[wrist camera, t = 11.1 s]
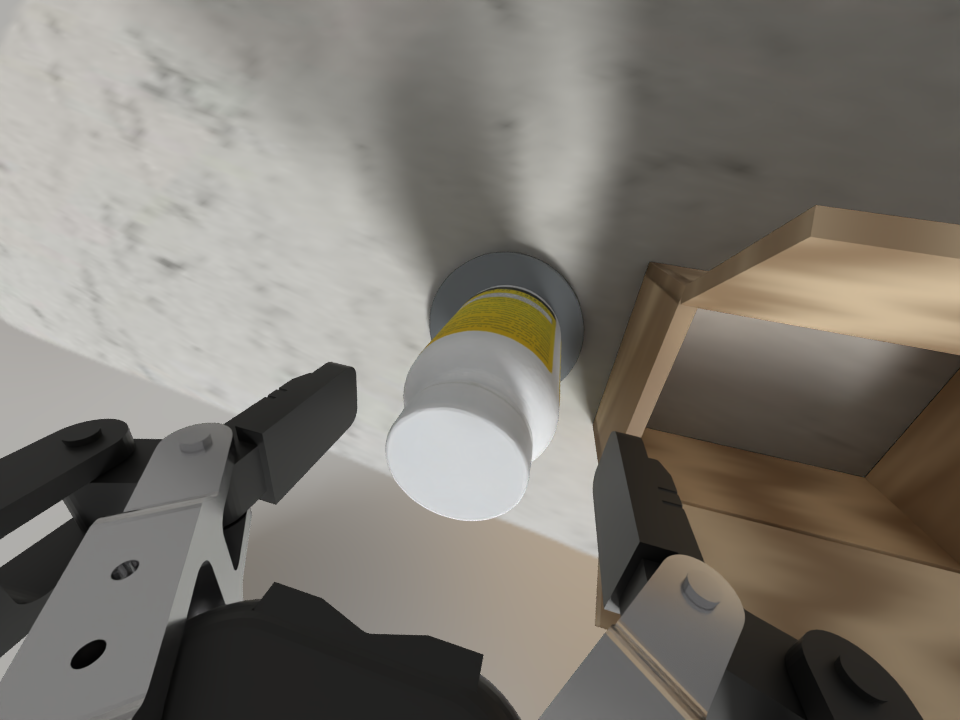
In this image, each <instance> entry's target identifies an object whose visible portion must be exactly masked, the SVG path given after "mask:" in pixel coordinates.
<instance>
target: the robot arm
mask: <svg viewBox="0 0 960 720" xmlns="http://www.w3.org/2000/svg"><path fill="white" fill-rule="evenodd" d="M356 413H357V385H356V371H355V369H354V368H353V367H350V366H346V365H342V364H338V363H333V362H328V363H326V364H325V365H323V366H322V367H320V368H319V369H317V370H316V371H314V372H313V373H308V374H305V375H302V376H300V377H297V378H294V379H292V380H290V381H289V382H287V383H286V384H284V385H283V386H281V387H280V388H279V390H275V391H274V392H272V393H271V394H269V395H268V397H264V398H263V399H261V400H260V401H258V402H257V403H255V404H254V405H252V406H251V407H249V408H248V409H246V410H245V411H243V412H242V413H240V414H239V415H237V416H236V417H234V418H232V419H231V420H229V421H228V422H226V423H225V424H220V423H202V424H196V425H192V426H188V427H185V428H182V429H180V430H178V431H175V432H173V433H171V434H170V435H168V436H167V437H165V438H164V439H133V437H132V435H131V432H130V430H129V428H128V425H127V424H126V423H125V422H123V421H120V420H116V419H99V420H92V421H86V422H83V423H78V424H75V425H72V426H69V427H66V428H64V429H61V430H59V431H57V432H55V433H53V434H51V435H49V436H47V437H44V438H42V439H40V440H38V441H36V442H34V443H32V444H30V445H28V446H26V447H24V448H22V449H20V450H18V451H16V452H13V453H12V454H9V455H7V456H5V457H3V458H1V459H0V539H1V538H3V537H4V536H6V535H7V534H9V533H10V532H12V531H14V530H15V529H17V528H18V527H20V526H22V525H23V524H25V523H26V522H28V521H29V520H31V519H33V518H34V517H36V516H37V515H39V514H40V513H42V512H44V511H45V510H47V509H48V508H50V507H51V506H53V505H54V504H56V503H58V502H59V501H61V500H63V501H64V503H65V504H66V506H67V508H68V510H69V511H70V513H71V515H72V516H73V518H72V519H70V520H69V521H67V522H66V523H65V524H63V525H61V526H60V527H59V528H57V529H56V530H54V531H53V532H51V533H50V534H48V535H47V536H46V537H44V538H43V539H41V540H40V541H39V542H37V543H35V544H34V545H32V546H31V547H29V548H28V549H26V550H25V551H24V552H22V553H21V554H19V555H18V556H16V557H15V558H13V559H12V560H10V561H9V562H7V563H6V564H5V565H3V566H2V567H0V657H1V656H2V655H4V654H5V653H6V652H7V651H8V650H10V649H11V648H12V647H13V646H14V645H15V644H16V643H18V642H19V641H20V640H21V639H22V638H24V637H25V636H26V635H27V634H28V635H27V637H26V638H25V640H24V642H23V644H22V645H21V647H20V649H19V650H18V652H17V654H16V656H15V657H14V659H13V661H12V663H11V664H10V666H9V668H8V669H7V671H6V673H5V675H4V676H3V678H2V680H1V682H0V720H521V719H520V717H519V716H518V714H517V712H516V711H515V710H514V708H513V707H512V705H511V704H510V703H509V702H508V700H507V699H506V698H505V696H504V695H503V694H502V693H501V692H500V691H499V690H498V689H497V688H496V687H495V686H494V685H493V684H492V683H491V682H490V681H489V680H487V679H486V678H485V677H483V676H482V675H481V674H480V671H481V665H482V659H483V654H480V653H477V652H474V651H471V650H468V649H466V648H463V647H460V646H457V645H454V644H451V643H449V642H445V641H443V640H440V639H437V638H434V637H431V636H426V635H389V634H369V633H366V632H364V631H362V630H361V629H360V628H358V627H357V626H356V625H355V624H353V623H352V622H351V621H350V620H348V619H347V618H346V617H345V616H344V615H342V614H341V613H340V612H339V611H337V610H336V609H335V608H334V607H332V606H331V605H330V604H329V603H327V602H326V601H325V600H324V599H322V598H320V597H317V596H313V595H311V594H308V593H305V592H302V591H299V590H297V589H294V588H291V587H288V586H285V585H282V584H279V583H276V582H274V583H273V585H272V586H271V587H270V589H269V590H268V591H267V592H266V594H265V595H264V596H263V598H262V599H255V600H245V601H243V591H242V583H243V573H244V566H245V559H246V553H247V545H248V539H249V532H250V525H251V518H252V511H251V506H252V505H253V504H254V503H255V502H256V501H257V500H258V499H260V500H263V501H266V502H269V503H273V504H277V503H278V502H279V501H280V500H281V499H282V498H283V497H284V496H285V495H286V493H288V491H289V490H290V489H291V488H292V487H293V486H294V485H295V484H296V483H297V482H298V481H299V480H300V479H301V478H302V477H303V476H304V475H305V474H306V473H307V472H308V470H309V469H310V468H311V467H312V466H313V465H314V464H315V463H316V462H317V461H318V460H319V459H320V458H321V457H322V456H323V455H324V454H325V453H326V451H327V450H328V449H329V448H330V447H331V446H332V445H333V444H334V443H335V442H336V441H337V440H338V439H339V438H340V437H341V436H342V435H343V434H344V432H345V431H346V430H347V429H348V428H349V427H350V426H351V425H352V423H353V421H354V419H355V417H356ZM593 499H594V510H595V521H596V531H597V542H598V553H599V563H600V574H601V584H602V595H603V606H604V609H605V610H608V611H612V612H615V613H618V614H620V616H621V618H620V619H619V620H618V621H617V623H616V624H615V625H614V624H612V625H611V626H610V628H609V629H608V630H607V631H606V632H605V634H604V635H603V636H602V638H601V639H600V640H599V641H598V643H597V644H596V645H595V647H594V648H593V649H592V650H591V652H590V653H589V654H588V656H587V657H586V658H585V660H584V661H583V662H582V663H581V665H580V666H579V667H578V669H577V670H576V671H575V673H574V674H573V675H572V676H571V678H570V679H569V680H568V682H567V683H566V684H565V685H564V687H563V688H562V689H561V691H560V692H559V693H558V695H557V696H556V697H555V699H554V700H553V701H552V702H551V704H550V705H549V706H548V708H547V709H546V710H545V711H544V713H543V714H542V716H541V717H540V718H539V719H538V720H923V718H922V716H921V715H920V713H919V712H918V710H917V709H916V707H915V706H914V704H913V703H912V701H911V700H910V698H909V697H908V695H907V694H906V692H905V691H904V690H903V688H902V687H901V686H900V685H899V684H898V682H897V681H896V680H895V679H894V678H893V677H892V676H891V675H890V674H889V673H888V672H887V670H885V669H884V668H883V667H882V666H881V665H880V664H879V663H878V662H877V661H876V660H875V659H873V658H872V657H871V656H870V655H868V654H867V653H866V652H865V651H863V650H862V649H860V648H859V647H858V646H856V645H855V644H853V643H851V642H850V641H848V640H846V639H844V638H842V637H841V636H839V635H836V634H834V633H831V632H828V631H824V630H817V629H816V630H810V631H808V632H806V633H805V634H804V635H803V636H802V637H801V638H800V639H799V640H797V639H795V638H794V637H792V636H790V635H788V634H787V633H785V632H783V631H781V630H780V629H778V628H776V627H774V626H773V625H771V624H769V623H767V622H766V621H764V620H762V619H760V618H758V617H757V616H755V615H753V614H752V613H750V612H748V611H747V610H745V609H744V608H743V606H742V603H741V601H740V599H739V597H738V595H737V594H736V592H735V591H734V589H733V588H732V587H731V585H730V584H729V583H728V582H727V581H726V580H725V579H724V578H723V577H722V576H721V575H720V574H719V573H718V572H717V571H715V570H714V569H713V568H711V567H710V566H709V565H707V564H705V562H704V559H703V557H702V554H701V552H700V549H699V546H698V544H697V541H696V539H695V536H694V533H693V531H692V528H691V526H690V523H689V520H688V518H687V515H686V513H685V510H684V509H682V506H683V505H682V502H681V500H680V497H679V495H677V489H676V487H675V484H674V481H673V479H672V476H671V475H670V474H669V472H668V471H667V470H666V469H665V468H664V466H663V465H662V464H661V463H660V462H659V461H658V460H656V459H652V458H648V455H647V452H646V449H645V446H644V443H643V440H642V438H641V437H637V436H633V435H629V434H625V433H621V432H616V431H612V432H611V434H610V436H609V438H608V441H607V443H606V446H605V448H604V451H603V454H602V456H601V459H600V461H599V464H598V466H597V469H596V472H595V476H594V481H593Z"/></svg>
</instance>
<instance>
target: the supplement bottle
mask: <svg viewBox="0 0 960 720" xmlns="http://www.w3.org/2000/svg"><path fill="white" fill-rule="evenodd" d="M560 364H561V331H560V326H559V322H558V319H557V317H556V315H555V313H554V311H553V310H552V308H551V307H550V306H549V305H548V303H547V302H546V301H545V300H544V299H542V298H541V297H540V296H539V295H537V294H536V293H534V292H532V291H530V290H528V289H525V288H522V287H518V286H512V285H500V286H494V287H490V288H488V289H485V290H483V291H481V292H479V293H477V294H476V295H474V296H473V297H472V298H470V299H469V300H468V301H467V302H466V303H465V304H464V305H463V306H462V307H461V308H460V309H459V311H458V312H457V313H456V314H455V315H454V316H453V317H452V318H451V320H450V321H449V322H448V323H447V324H446V325H445V326H444V327H443V328H442V329H441V331H440V332H439V333H438V334H437V335H436V336H435V337H434V338H433V339H432V341H431V342H430V343H429V344H428V345H427V346H426V347H425V349H424V350H423V351H422V352H421V353H420V354H419V356H418V357H417V359H416V360H415V362H414V363H413V365H412V366H411V368H410V370H409V372H408V375H407V378H406V382H405V386H404V395H403V398H404V409H403V411H402V413H401V414H400V415H399V417H398V418H397V420H396V421H395V422H394V424H393V425H392V427H391V429H390V431H389V433H388V436H387V440H386V448H385V451H386V459H387V464H388V467H389V469H390V472H391V474H392V476H393V478H394V479H395V481H396V482H397V484H398V485H399V486H400V487H401V489H402V490H403V491H404V492H405V493H406V494H407V495H408V496H409V497H410V498H412V499H413V500H414V501H415V502H417V503H418V504H420V505H421V506H423V507H424V508H426V509H428V510H430V511H432V512H434V513H436V514H439V515H442V516H445V517H448V518H452V519H457V520H465V521H480V520H487V519H491V518H495V517H498V516H500V515H502V514H504V513H506V512H508V511H509V510H510V509H512V508H513V507H514V506H516V505H517V503H518V502H519V501H520V500H521V498H522V496H523V495H524V493H525V491H526V488H527V485H528V481H529V474H530V467H531V462H532V461H534V460H535V459H536V458H537V457H538V456H539V455H540V454H541V453H542V452H543V451H544V450H545V449H546V448H547V446H548V445H549V443H550V441H551V440H552V438H553V436H554V433H555V431H556V427H557V423H558V416H559V406H560V369H561V365H560Z"/></svg>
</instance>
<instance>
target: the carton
mask: <svg viewBox="0 0 960 720" xmlns="http://www.w3.org/2000/svg"><path fill="white" fill-rule="evenodd" d="M697 308H701V309H706V310H712V311H717V312H723V313H728V314H734V315H740V316H745V317H751V318H756V319H762V320H767V321H773V322H778V323H784V324H789V325H795V326H801V327H806V328H812V329H817V330H823V331H828V332H834V333H839V334H845V335H850V336H856V337H862V338H867V339H873V340H878V341H884V342H889V343H895V344H900V345H906V346H911V347H917V348H922V349H928V350H934V351H939V352H945V353H950V354H956V355H960V225H957V224H950V223H943V222H935V221H928V220H921V219H914V218H906V217H899V216H892V215H885V214H877V213H870V212H863V211H855V210H848V209H841V208H834V207H826V206H819V205H815V206H814V207H812V208H810V209H809V210H807V211H806V212H804V213H802V214H801V215H799V216H797V217H796V218H794V219H793V220H791V221H789V222H788V223H786V224H785V225H783V226H781V227H780V228H778V229H776V230H775V231H773V232H772V233H770V234H768V235H767V236H765V237H763V238H762V239H760V240H759V241H757V242H755V243H754V244H752V245H751V246H749V247H747V248H746V249H744V250H742V251H741V252H739V253H738V254H736V255H734V256H733V257H731V258H730V259H728V260H726V261H725V262H723V263H721V264H720V265H718V266H717V267H715V268H713V269H712V270H710V271H704V270H698V269H692V268H685V267H679V266H673V265H667V264H661V263H655V262H649V265H648V268H647V271H646V273H645V276H644V279H643V282H642V285H641V288H640V291H639V293H638V296H637V299H636V302H635V305H634V308H633V311H632V314H631V316H630V319H629V322H628V325H627V328H626V331H625V334H624V336H623V339H622V342H621V345H620V348H619V351H618V354H617V357H616V359H615V362H614V365H613V368H612V371H611V374H610V377H609V379H608V382H607V385H606V388H605V391H604V394H603V397H602V400H601V402H600V405H599V408H598V411H597V414H596V417H595V420H594V422H593V431H594V438H595V445H596V452H597V459H598V464H599V461H600V459H601V456H602V454H603V451H604V448H605V446H606V443H607V441H608V438H609V436H610V434H611V432H612V431H616V432H621V433H625V434H629V435H633V436H637V437H641V438H642V440H643V443H644V446H645V449H646V452H647V455H648V458H652V459H656V460H658V461H659V462H660V463H661V464H662V465H663V466H664V468H665V469H666V470H667V471H668V472H669V474H670V475H671V476H672V479H673V481H674V484H675V487H676V489H677V495H679V497H680V500H681V502H682V505H683V506H682V509H684V510H685V513H686V515H687V518H688V520H689V523H690V526H691V528H692V531H693V533H694V536H695V539H696V541H697V544H698V546H699V549H700V552H701V554H702V557H703V559H704V562H705V564H707V565H709V566H710V567H711V568H713V569H714V570H715V571H717V572H718V573H719V574H720V575H721V576H722V577H723V578H724V579H725V580H726V581H727V582H728V583H729V584H730V585H731V587H732V588H733V589H734V591H735V592H736V594H737V595H738V597H739V599H740V601H741V603H742V606H743V608H744V609H745V610H747V611H748V612H750V613H752V614H753V615H755V616H757V617H758V618H760V619H762V620H764V621H766V622H767V623H769V624H771V625H773V626H774V627H776V628H778V629H780V630H781V631H783V632H785V633H787V634H788V635H790V636H792V637H794V638H795V639H797V640H799V639H800V638H801V637H802V636H803V635H804V634H805V633H806V632H808V631H810V630H816V629H817V630H824V631H828V632H831V633H834V634H836V635H839V636H841V637H842V638H844V639H846V640H848V641H850V642H851V643H853V644H855V645H856V646H858V647H859V648H860V649H862V650H863V651H865V652H866V653H867V654H868V655H870V656H871V657H872V658H873V659H875V660H876V661H877V662H878V663H879V664H880V665H881V666H882V667H883V668H884V669H885V670H887V672H888V673H889V674H890V675H891V676H892V677H893V678H894V679H895V680H896V681H897V682H898V684H899V685H900V686H901V687H902V688H903V690H904V691H905V692H906V694H907V695H908V697H909V698H910V700H911V701H912V703H913V704H914V706H915V707H916V709H917V710H918V712H919V713H920V715H921V716H922V718H923V720H960V369H959V370H958V371H957V372H956V374H955V375H954V376H953V377H952V378H951V379H950V381H949V382H948V383H947V384H946V385H945V386H944V387H943V389H942V390H941V391H940V392H939V393H938V394H937V395H936V397H935V398H934V399H933V400H932V401H931V402H930V404H929V405H928V406H927V407H926V408H925V409H924V410H923V412H922V413H921V414H920V415H919V416H918V417H917V418H916V420H915V421H914V422H913V423H912V424H911V425H910V427H909V428H908V429H907V430H906V431H905V432H904V433H903V435H902V436H901V437H900V438H899V439H898V440H897V441H896V443H895V444H894V445H893V446H892V447H891V448H890V450H889V451H888V452H887V453H886V454H885V455H884V456H883V458H882V459H881V460H880V461H879V462H878V463H877V464H876V466H875V467H874V468H873V469H872V470H871V471H870V473H869V474H868V475H867V476H866V477H865V478H864V477H860V476H855V475H851V474H846V473H842V472H838V471H833V470H829V469H824V468H820V467H816V466H811V465H807V464H802V463H798V462H794V461H789V460H785V459H781V458H776V457H772V456H767V455H763V454H759V453H754V452H750V451H745V450H741V449H737V448H732V447H728V446H723V445H719V444H715V443H710V442H706V441H702V440H697V439H693V438H688V437H684V436H680V435H675V434H671V433H666V432H662V431H658V430H653V429H649V428H645V427H646V425H647V423H648V420H649V418H650V416H651V414H652V411H653V409H654V407H655V404H656V402H657V400H658V397H659V395H660V393H661V391H662V388H663V386H664V384H665V381H666V379H667V377H668V375H669V372H670V370H671V368H672V365H673V363H674V361H675V359H676V356H677V354H678V352H679V349H680V347H681V345H682V343H683V340H684V338H685V336H686V333H687V331H688V329H689V327H690V324H691V322H692V320H693V317H694V315H695V313H696V310H697ZM620 618H621V616H620V614H618V613H615V612H612V611H608V610H605V609H604V606H603V595H602V584H601V574H600V563H599V558H598V578H597V597H596V619H595V626H597V627H601V628H604V629H607V630H608V629H609V628H610V626H611V625H612V624H614V625H615V624H616V623H617V621H618V620H619V619H620Z"/></svg>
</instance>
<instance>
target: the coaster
mask: <svg viewBox="0 0 960 720" xmlns="http://www.w3.org/2000/svg"><path fill="white" fill-rule="evenodd" d="M500 285H512V286H518V287H522V288H525V289H528V290H530V291H532V292H534V293H536V294H537V295H539V296H540V297H541V298H542V299H544V300H545V301H546V302H547V303H548V305H549V306H550V307H551V308H552V310H553V311H554V313H555V315H556V317H557V319H558V322H559V326H560V331H561V364H560V365H561V369H560V382H561V381H562V380H563V379H564V378H565V377H566V376H567V375H568V373H569V372H570V371H571V369H572V368H573V366H574V364H575V363H576V361H577V359H578V356H579V354H580V351H581V347H582V343H583V333H584V327H583V318H582V313H581V309H580V305H579V302H578V300H577V297H576V295H575V293H574V292H573V290H572V288H571V287H570V285H569V284H568V283H567V281H566V280H565V279H564V278H563V277H562V276H561V275H560V274H559V273H558V272H557V271H556V270H555V269H553V268H552V267H551V266H549V265H548V264H546V263H544V262H542V261H541V260H539V259H536V258H534V257H531V256H528V255H524V254H520V253H513V252H496V253H490V254H485V255H482V256H479V257H476V258H474V259H472V260H470V261H468V262H466V263H465V264H463V265H462V266H460V267H459V268H458V269H456V270H455V271H454V272H453V273H452V274H450V275H449V276H448V278H447V279H446V280H445V281H444V282H443V284H442V285H441V287H440V288H439V290H438V292H437V294H436V296H435V298H434V301H433V304H432V308H431V313H430V335H431V340H432V339H433V338H434V337H435V336H436V335H437V334H438V333H439V332H440V331H441V329H442V328H443V327H444V326H445V325H446V324H447V323H448V322H449V321H450V320H451V318H452V317H453V316H454V315H455V314H456V313H457V312H458V311H459V309H460V308H461V307H462V306H463V305H464V304H465V303H466V302H467V301H468V300H469V299H470V298H472V297H473V296H474V295H476V294H477V293H479V292H481V291H483V290H485V289H488V288H490V287H494V286H500Z"/></svg>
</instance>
